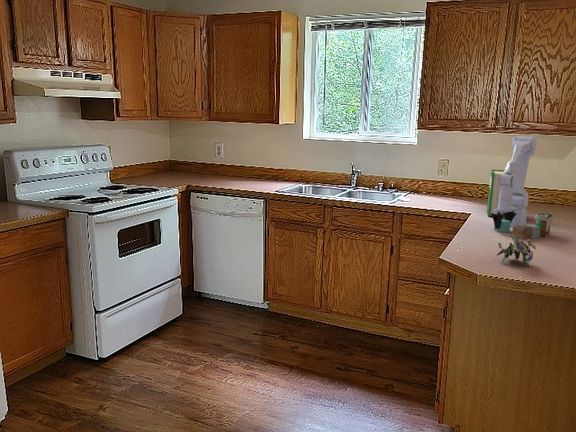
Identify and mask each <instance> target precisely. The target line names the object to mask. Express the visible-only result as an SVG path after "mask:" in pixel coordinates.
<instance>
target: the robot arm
mask: <svg viewBox="0 0 576 432" xmlns="http://www.w3.org/2000/svg"><path fill="white" fill-rule="evenodd" d="M511 145H512V150H513V152H512V156H511V159H510V160H509V161H507V164H506V165H505V168H504V169H503V170H504V173H503V174H502V175H500V177H499V189H500V193H499V202H498V208H496V209H493V212H492V213H491V216H490V217H491V218H492V219H493V220H492V221H493V224H494V226H495V228H496V229H500V225H501V221H502V219H503V218H504V220H508V221H511V226H510V227H512V228H513V226H519V225H520V226H524V225H527V217H528V215H527V214H528V212H527V209H526V208H527V207H528V204H529V193H528V191H527V190H525V184H526V183H525V182H526V179H527V173H528V168H529V163H530V159H531V156H533V155H535V153H536V149H537V148H536V147H537V138H536V136H523V135H522V136H519V135H515V136H514V137H513V138H512V141H511ZM500 213H503V215H501V214H500Z"/></svg>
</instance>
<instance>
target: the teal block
mask: <svg viewBox="0 0 576 432" xmlns="http://www.w3.org/2000/svg"><path fill="white" fill-rule="evenodd" d="M511 227H512V226H511V221H508V220H505V219H503V218H502V221H501V225H500V229H496V228H495V225H494V228H493V230H494V231H496V232H500V233H507V232H511Z"/></svg>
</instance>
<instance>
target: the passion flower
mask: <svg viewBox="0 0 576 432" xmlns="http://www.w3.org/2000/svg"><path fill="white" fill-rule="evenodd" d="M511 239H512V241H513V242H509V246H508V247H506V248H503V247H502V246H501V245H502V243H501V242H498V248H499V249H501V250H500V251H499V252H498V253H497V254H496V257H497V256H499V255H501V254H504V255H503V257H502V261H501V263H503V262H504V261H505V260H506V259H508V258H509V257H512V256H513V254H514V259H515V260H519V259H520V256H521V255H522V262H523V264H524V265H525V266H526V267H529V268H530V267H531V265H532V264H531V261H532V260H533V259H534V258H533V257H534V255H533V254H534V252H533V250H531V247H532V249H534V250H536V249H537V247H536V245H535V244H534V243H533V241H532V238H530V239H529V238H528V239H526V242H525V241H524V239H520V238H518V237H517V238H515V236H514V235H513V234H512V233H511Z"/></svg>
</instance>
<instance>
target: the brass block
mask: <svg viewBox="0 0 576 432" xmlns="http://www.w3.org/2000/svg"><path fill="white" fill-rule="evenodd" d="M529 231H530V228H529V227H525V226H520V225H519V226H513V227H512V232H511V235H512V234H513V235H514V236H515V238H517V237H518V238H520V239H522V240H528V239H529Z"/></svg>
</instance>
